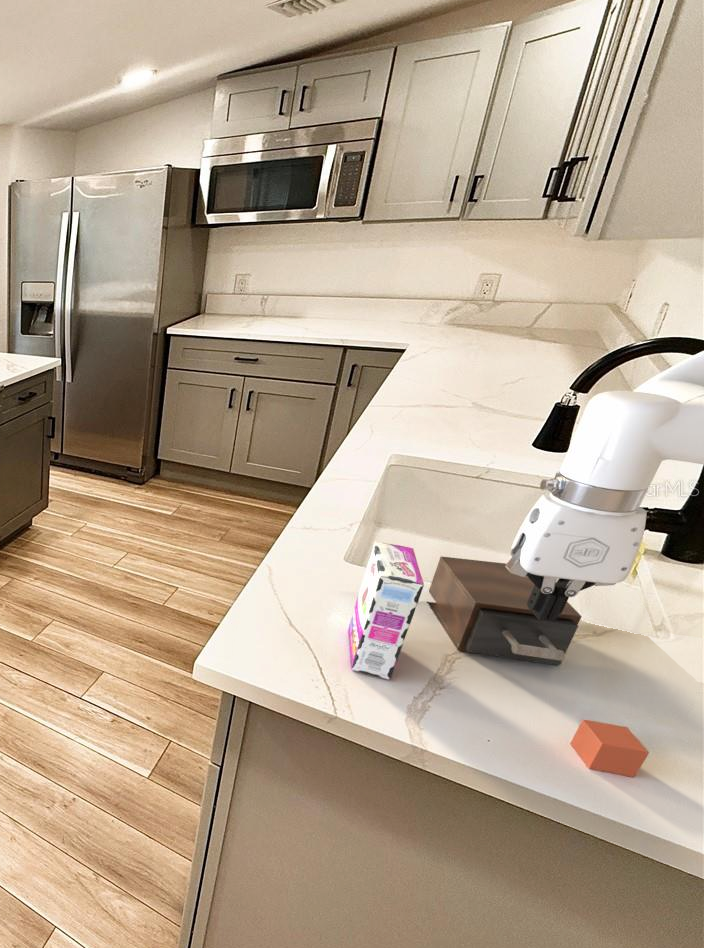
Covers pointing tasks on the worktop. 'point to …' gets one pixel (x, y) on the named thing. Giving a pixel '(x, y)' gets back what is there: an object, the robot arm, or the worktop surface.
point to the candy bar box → (384, 609)
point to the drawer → (520, 636)
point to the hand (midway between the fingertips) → (541, 614)
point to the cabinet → (479, 595)
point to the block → (609, 748)
